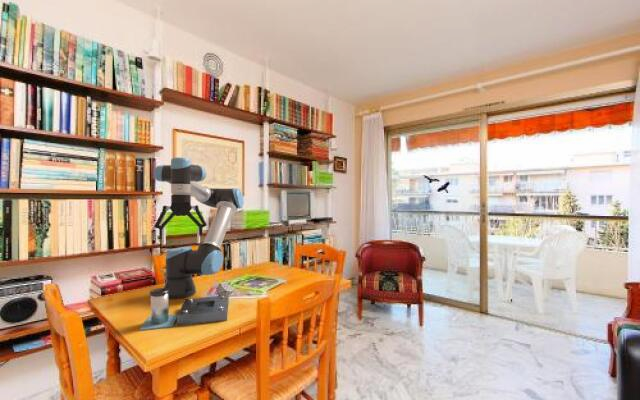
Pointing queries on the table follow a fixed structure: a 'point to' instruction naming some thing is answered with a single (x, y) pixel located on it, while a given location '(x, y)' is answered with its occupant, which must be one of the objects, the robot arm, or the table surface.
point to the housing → (203, 310)
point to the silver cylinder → (159, 306)
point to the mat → (149, 326)
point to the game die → (224, 289)
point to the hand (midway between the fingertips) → (181, 243)
